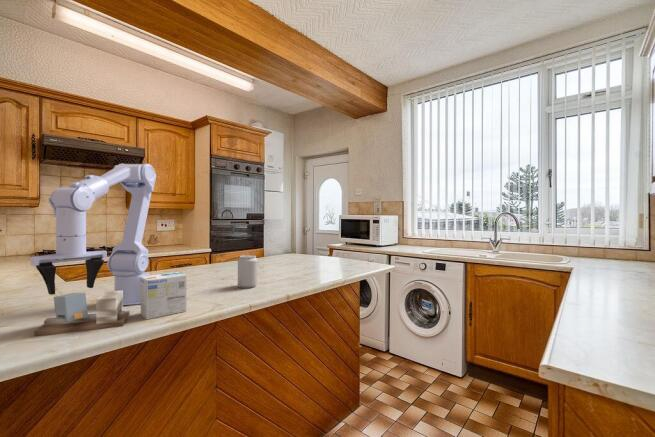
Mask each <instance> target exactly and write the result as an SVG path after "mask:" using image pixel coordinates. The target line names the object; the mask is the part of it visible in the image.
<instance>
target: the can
mask: <svg viewBox="0 0 655 437" xmlns="http://www.w3.org/2000/svg"><path fill="white" fill-rule="evenodd" d="M258 262H259V259H258V258H257V256H256V255H255V254H254V255H253V254H243V255H240V256H239V259H237V286H238V287H239V288H241V289H251V288H254V287H256V286H257V285H258V280H259V279H258V278H259V275H258V271H259V268H258V266H259V265H258V264H259V263H258Z"/></svg>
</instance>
